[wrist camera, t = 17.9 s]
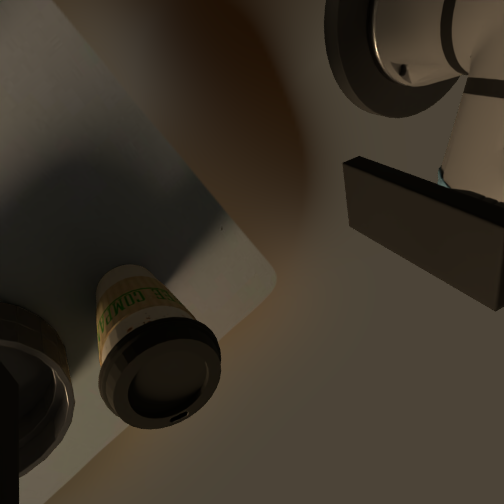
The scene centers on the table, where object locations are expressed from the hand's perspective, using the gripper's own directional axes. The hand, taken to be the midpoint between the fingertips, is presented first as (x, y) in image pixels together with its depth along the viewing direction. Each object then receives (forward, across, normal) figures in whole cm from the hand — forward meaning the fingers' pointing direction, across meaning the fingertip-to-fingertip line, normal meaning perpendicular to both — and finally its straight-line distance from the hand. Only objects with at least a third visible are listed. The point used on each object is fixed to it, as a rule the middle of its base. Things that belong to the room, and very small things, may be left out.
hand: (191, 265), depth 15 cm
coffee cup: (+28, -3, -17) cm, 32 cm away
